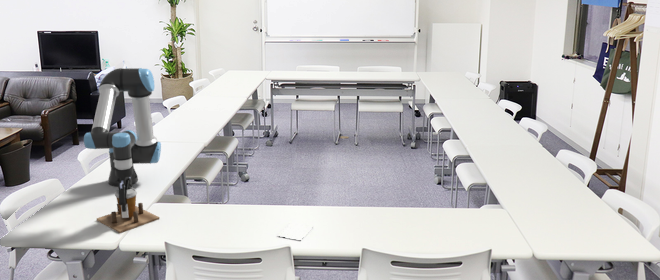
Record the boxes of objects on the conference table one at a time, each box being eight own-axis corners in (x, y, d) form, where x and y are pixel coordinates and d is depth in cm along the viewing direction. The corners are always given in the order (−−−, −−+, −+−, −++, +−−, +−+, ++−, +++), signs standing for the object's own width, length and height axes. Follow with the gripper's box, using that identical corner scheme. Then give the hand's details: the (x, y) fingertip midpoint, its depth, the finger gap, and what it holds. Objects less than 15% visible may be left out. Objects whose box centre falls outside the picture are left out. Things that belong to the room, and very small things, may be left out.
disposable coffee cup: (130, 209, 260) (128, 185, 257) (143, 214, 255) (141, 190, 252) (112, 215, 253) (110, 191, 249) (125, 221, 248) (123, 196, 244)
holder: (135, 207, 268) (134, 196, 266) (159, 219, 256) (158, 207, 254) (96, 220, 253) (95, 208, 251) (120, 233, 241) (118, 220, 239)
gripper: (121, 159, 257) (125, 204, 263) (108, 175, 237) (113, 223, 243) (137, 159, 258) (141, 204, 264) (126, 175, 238) (130, 222, 244)
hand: (127, 213), depth 254 cm, fingers closed on disposable coffee cup, 8 cm apart
